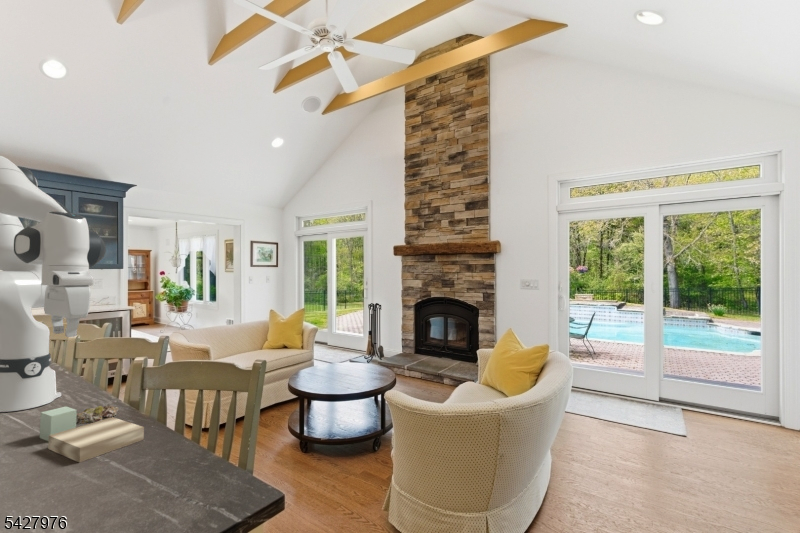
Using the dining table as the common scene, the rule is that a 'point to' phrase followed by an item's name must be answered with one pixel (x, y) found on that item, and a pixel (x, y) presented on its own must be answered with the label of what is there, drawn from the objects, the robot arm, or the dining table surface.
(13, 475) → the dining table surface
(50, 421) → the sage block
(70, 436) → the birch plinth
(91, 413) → the mineral rock
